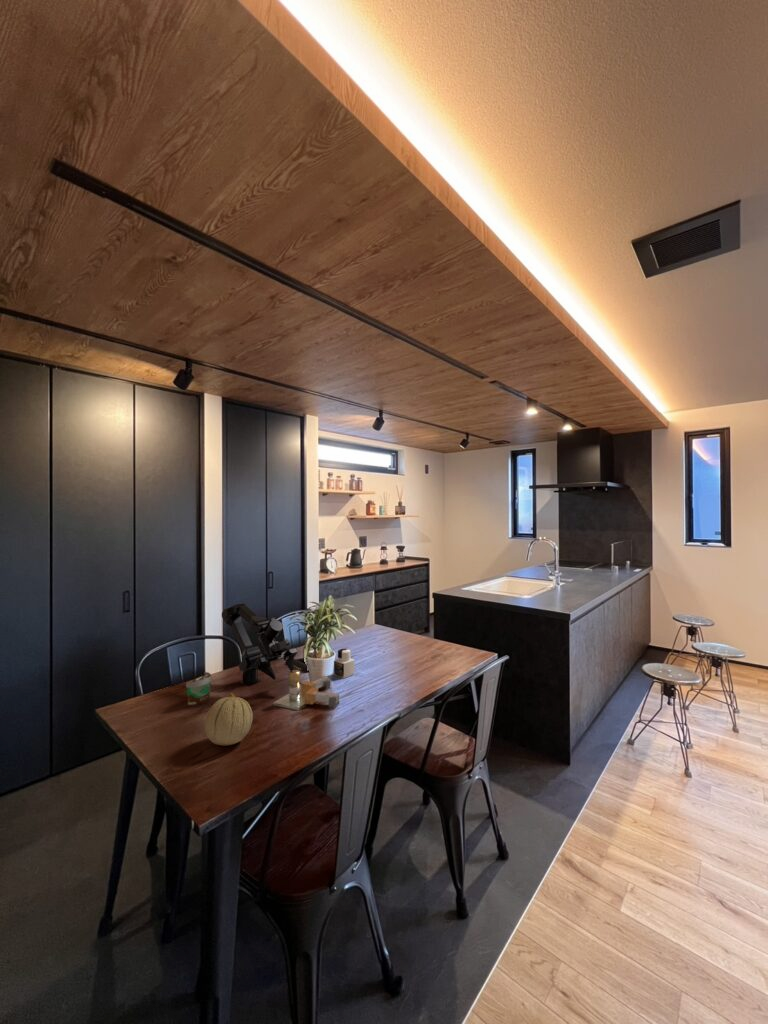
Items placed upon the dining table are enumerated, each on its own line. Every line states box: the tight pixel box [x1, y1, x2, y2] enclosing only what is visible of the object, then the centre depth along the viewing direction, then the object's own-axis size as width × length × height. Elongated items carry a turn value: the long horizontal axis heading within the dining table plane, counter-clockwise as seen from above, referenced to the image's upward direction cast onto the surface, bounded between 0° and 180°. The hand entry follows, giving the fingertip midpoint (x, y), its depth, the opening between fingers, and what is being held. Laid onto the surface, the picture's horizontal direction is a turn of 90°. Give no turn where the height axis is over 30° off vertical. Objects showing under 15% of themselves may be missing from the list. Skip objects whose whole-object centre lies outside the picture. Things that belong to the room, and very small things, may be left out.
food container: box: [185, 671, 213, 707], centre depth 167 cm, size 12×6×10 cm, turn 168°
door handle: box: [294, 657, 308, 673], centre depth 210 cm, size 3×20×16 cm
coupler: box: [288, 669, 301, 702], centre depth 166 cm, size 4×4×11 cm
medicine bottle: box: [333, 648, 356, 679], centre depth 195 cm, size 7×7×12 cm
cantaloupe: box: [204, 692, 254, 747], centre depth 135 cm, size 15×15×15 cm
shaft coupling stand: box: [272, 676, 340, 711], centre depth 169 cm, size 24×24×5 cm
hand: (284, 676), depth 171 cm, fingers open, 9 cm apart
